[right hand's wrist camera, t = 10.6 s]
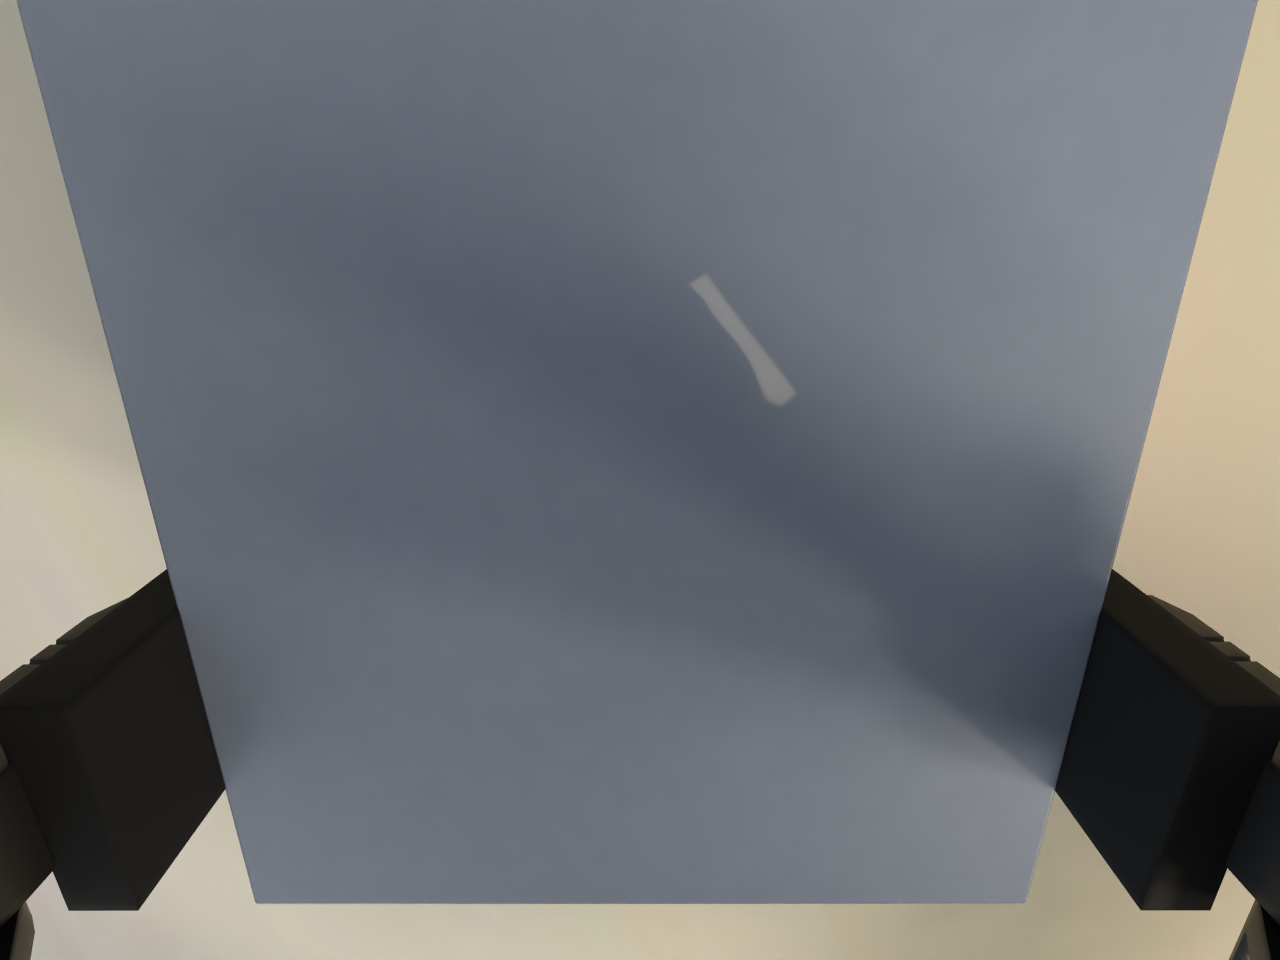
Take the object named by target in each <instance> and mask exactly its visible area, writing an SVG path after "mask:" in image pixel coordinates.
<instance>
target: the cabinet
mask: <svg viewBox="0 0 1280 960" xmlns="http://www.w3.org/2000/svg"><path fill="white" fill-rule="evenodd" d="M1257 2H1258V0H17V4H18V7H19V11H20V15H21V19H22V22H23V26H24V30H25V34H26V38H27V41H28V45H29V49H30V53H31V56H32V60H33V64H34V68H35V72H36V75H37V79H38V83H39V87H40V90H41V94H42V98H43V102H44V106H45V109H46V113H47V117H48V121H49V124H50V128H51V132H52V136H53V140H54V143H55V147H56V151H57V155H58V158H59V162H60V166H61V170H62V174H63V177H64V181H65V185H66V189H67V192H68V196H69V200H70V204H71V208H72V211H73V215H74V219H75V223H76V226H77V230H78V234H79V238H80V242H81V245H82V249H83V253H84V257H85V260H86V264H87V268H88V272H89V276H90V279H91V283H92V287H93V291H94V294H95V298H96V302H97V306H98V310H99V313H100V317H101V321H102V325H103V328H104V332H105V336H106V340H107V343H108V347H109V351H110V355H111V359H112V362H113V366H114V370H115V374H116V377H117V381H118V385H119V389H120V393H121V396H122V400H123V404H124V408H125V411H126V415H127V419H128V423H129V427H130V430H131V434H132V438H133V442H134V445H135V449H136V453H137V457H138V461H139V464H140V468H141V472H142V476H143V479H144V483H145V487H146V491H147V495H148V498H149V502H150V506H151V510H152V513H153V517H154V521H155V525H156V529H157V532H158V536H159V540H160V544H161V547H162V551H163V555H164V559H165V563H166V566H167V570H168V574H169V578H170V581H171V585H172V589H173V593H174V596H175V600H176V604H177V608H178V611H179V615H180V619H181V622H182V626H183V630H184V634H185V638H186V641H187V645H188V649H189V653H190V657H191V661H192V664H193V668H194V672H195V676H196V680H197V683H198V687H199V691H200V695H201V698H202V702H203V706H204V710H205V714H206V717H207V721H208V725H209V729H210V732H211V736H212V740H213V744H214V748H215V751H216V755H217V759H218V763H219V766H220V770H221V774H222V778H223V782H224V785H225V789H226V793H227V797H228V800H229V804H230V808H231V812H232V816H233V819H234V823H235V827H236V831H237V834H238V838H239V842H240V846H241V850H242V853H243V857H244V861H245V865H246V868H247V872H248V876H249V880H250V883H251V887H252V891H253V895H254V899H255V902H256V903H257V904H940V903H1025V902H1026V901H1027V897H1028V893H1029V889H1030V885H1031V882H1032V878H1033V874H1034V870H1035V866H1036V862H1037V858H1038V854H1039V850H1040V846H1041V843H1042V839H1043V835H1044V831H1045V827H1046V823H1047V819H1048V815H1049V811H1050V808H1051V804H1052V800H1053V796H1054V792H1055V788H1056V784H1057V780H1058V776H1059V772H1060V769H1061V765H1062V761H1063V757H1064V753H1065V749H1066V745H1067V741H1068V737H1069V734H1070V730H1071V726H1072V722H1073V718H1074V714H1075V710H1076V706H1077V702H1078V699H1079V695H1080V691H1081V687H1082V683H1083V679H1084V675H1085V671H1086V667H1087V663H1088V660H1089V656H1090V652H1091V648H1092V644H1093V640H1094V636H1095V632H1096V628H1097V625H1098V621H1099V617H1100V613H1101V609H1102V605H1103V601H1104V597H1105V593H1106V590H1107V586H1108V582H1109V578H1110V574H1111V570H1112V566H1113V562H1114V558H1115V554H1116V551H1117V547H1118V543H1119V539H1120V535H1121V531H1122V527H1123V523H1124V519H1125V516H1126V512H1127V508H1128V504H1129V500H1130V496H1131V492H1132V488H1133V484H1134V481H1135V477H1136V473H1137V469H1138V465H1139V461H1140V457H1141V453H1142V449H1143V445H1144V442H1145V438H1146V434H1147V430H1148V426H1149V422H1150V418H1151V414H1152V410H1153V407H1154V403H1155V399H1156V395H1157V391H1158V387H1159V383H1160V379H1161V375H1162V372H1163V368H1164V364H1165V360H1166V356H1167V352H1168V348H1169V344H1170V340H1171V336H1172V333H1173V329H1174V325H1175V321H1176V317H1177V313H1178V309H1179V305H1180V301H1181V298H1182V294H1183V290H1184V286H1185V282H1186V278H1187V274H1188V270H1189V266H1190V263H1191V259H1192V255H1193V251H1194V247H1195V243H1196V239H1197V235H1198V231H1199V227H1200V224H1201V220H1202V216H1203V212H1204V208H1205V204H1206V200H1207V196H1208V192H1209V189H1210V185H1211V181H1212V177H1213V173H1214V169H1215V165H1216V161H1217V157H1218V154H1219V150H1220V146H1221V142H1222V138H1223V134H1224V130H1225V126H1226V122H1227V118H1228V115H1229V111H1230V107H1231V103H1232V99H1233V95H1234V91H1235V87H1236V83H1237V80H1238V76H1239V72H1240V68H1241V64H1242V60H1243V56H1244V52H1245V48H1246V45H1247V41H1248V37H1249V33H1250V29H1251V25H1252V21H1253V17H1254V13H1255V9H1256V6H1257Z"/></svg>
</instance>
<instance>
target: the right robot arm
mask: <svg viewBox="0 0 1280 960" xmlns="http://www.w3.org/2000/svg"><path fill="white" fill-rule="evenodd" d="M224 790H225V785H224V782H223V778H222V774H221V770H220V766H219V763H218V759H217V755H216V751H215V748H214V744H213V740H212V736H211V732H210V729H209V725H208V721H207V717H206V714H205V710H204V706H203V702H202V698H201V695H200V691H199V687H198V683H197V680H196V676H195V672H194V668H193V664H192V661H191V657H190V653H189V649H188V645H187V641H186V638H185V634H184V630H183V626H182V622H181V619H180V615H179V611H178V608H177V604H176V600H175V596H174V593H173V589H172V585H171V581H170V578H169V574H168V570H167V569H166V570H165V571H164V572H162V573H161V574H160V575H158V576H157V577H156V578H154V579H153V580H152V581H150V582H149V583H148V584H146V585H145V586H144V587H143V588H141V589H140V590H139V591H137V592H136V593H135V594H133V595H132V596H131V597H129V598H127V599H125V600H123V601H121V602H119V603H116V604H114V605H112V606H110V607H108V608H106V609H104V610H102V611H100V612H98V613H95V614H93V615H91V616H89V617H87V618H86V619H84V620H83V621H82V622H80V623H79V624H78V625H76V626H75V627H74V628H72V629H71V630H69V631H68V632H67V633H65V634H64V635H63V636H61V637H60V638H59V639H57V640H56V645H49V646H48V647H46V648H45V649H44V650H42V651H41V652H40V653H38V654H37V655H35V656H34V657H33V658H31V659H30V664H29V665H22V666H21V667H19V668H18V669H16V670H15V671H14V672H12V673H11V674H10V675H8V676H7V677H6V678H4V679H3V680H1V681H0V960H30V958H31V952H32V946H33V940H34V933H35V930H34V924H33V919H32V915H31V913H30V911H29V908H28V906H27V904H26V900H27V899H28V898H29V897H30V896H31V895H32V893H33V892H34V891H35V890H36V889H37V888H38V887H39V886H40V884H41V883H42V882H43V881H44V880H45V879H46V878H47V877H48V875H49V874H50V873H51V872H52V871H53V873H54V876H55V878H56V880H57V883H58V885H59V888H60V890H61V893H62V895H63V898H64V900H65V902H66V905H67V907H68V910H69V911H108V910H139V909H140V907H141V906H142V904H143V903H144V902H145V900H146V899H147V897H148V896H149V895H150V893H151V892H152V890H153V889H154V888H155V886H156V885H157V884H158V882H159V881H160V879H161V878H162V877H163V875H164V874H165V872H166V871H167V870H168V868H169V867H170V865H171V864H172V863H173V861H174V860H175V858H176V857H177V856H178V854H179V853H180V851H181V850H182V849H183V847H184V846H185V844H186V843H187V842H188V840H189V839H190V837H191V836H192V835H193V833H194V832H195V831H196V829H197V828H198V826H199V825H200V824H201V822H202V821H203V819H204V818H205V817H206V815H207V814H208V812H209V811H210V810H211V808H212V807H213V805H214V804H215V803H216V801H217V800H218V798H219V797H220V796H221V794H222V793H223V791H224ZM1055 791H1056V792H1057V794H1058V795H1059V797H1060V798H1061V799H1062V801H1063V802H1064V804H1065V805H1066V806H1067V808H1068V809H1069V811H1070V812H1071V813H1072V815H1073V816H1074V818H1075V819H1076V820H1077V822H1078V823H1079V825H1080V826H1081V827H1082V829H1083V830H1084V832H1085V833H1086V834H1087V836H1088V837H1089V839H1090V840H1091V841H1092V843H1093V844H1094V846H1095V847H1096V848H1097V850H1098V851H1099V852H1100V854H1101V855H1102V857H1103V858H1104V859H1105V861H1106V862H1107V864H1108V865H1109V866H1110V868H1111V869H1112V871H1113V872H1114V873H1115V875H1116V876H1117V878H1118V879H1119V880H1120V882H1121V883H1122V885H1123V886H1124V887H1125V889H1126V890H1127V892H1128V893H1129V894H1130V896H1131V897H1132V899H1133V900H1134V901H1135V903H1136V904H1137V906H1138V907H1139V908H1140V910H1211V907H1212V905H1213V902H1214V900H1215V897H1216V895H1217V892H1218V890H1219V887H1220V885H1221V883H1222V880H1223V878H1224V875H1225V873H1226V870H1227V868H1228V869H1229V870H1230V871H1231V872H1232V873H1233V874H1234V876H1235V877H1236V878H1237V879H1238V880H1239V881H1240V882H1241V883H1242V885H1243V886H1244V887H1245V888H1246V889H1247V890H1248V891H1249V892H1250V893H1251V895H1252V896H1253V897H1254V898H1255V901H1254V904H1253V906H1252V908H1251V911H1250V913H1249V915H1248V917H1247V920H1246V922H1245V924H1244V927H1243V929H1242V931H1241V933H1240V936H1239V938H1238V940H1237V943H1236V945H1235V947H1234V949H1233V952H1232V954H1231V956H1230V959H1229V960H1280V678H1279V677H1277V676H1276V675H1275V674H1273V673H1272V672H1270V671H1269V670H1268V669H1266V668H1265V667H1264V666H1262V665H1261V664H1260V663H1258V662H1251V661H1250V656H1249V655H1247V654H1246V653H1244V652H1243V651H1242V650H1240V649H1239V648H1238V647H1236V646H1235V645H1233V644H1232V643H1231V642H1224V637H1223V636H1221V635H1220V634H1218V633H1217V632H1216V631H1214V630H1213V629H1212V628H1210V627H1209V626H1207V625H1206V624H1205V623H1203V622H1202V621H1201V620H1199V619H1198V618H1196V617H1195V616H1194V615H1192V614H1190V613H1188V612H1186V611H1184V610H1182V609H1180V608H1178V607H1175V606H1173V605H1171V604H1169V603H1167V602H1165V601H1163V600H1161V599H1158V598H1156V597H1154V596H1152V595H1146V594H1145V593H1143V592H1142V591H1141V590H1139V589H1138V588H1137V587H1135V586H1134V585H1133V584H1131V583H1130V582H1129V581H1127V580H1126V579H1125V578H1123V577H1122V576H1121V575H1120V574H1118V573H1117V572H1116V571H1114V570H1113V569H1112V570H1111V574H1110V578H1109V582H1108V586H1107V590H1106V593H1105V597H1104V601H1103V605H1102V609H1101V613H1100V617H1099V621H1098V625H1097V628H1096V632H1095V636H1094V640H1093V644H1092V648H1091V652H1090V656H1089V660H1088V663H1087V667H1086V671H1085V675H1084V679H1083V683H1082V687H1081V691H1080V695H1079V699H1078V702H1077V706H1076V710H1075V714H1074V718H1073V722H1072V726H1071V730H1070V734H1069V737H1068V741H1067V745H1066V749H1065V753H1064V757H1063V761H1062V765H1061V769H1060V772H1059V776H1058V780H1057V784H1056V788H1055Z"/></svg>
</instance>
